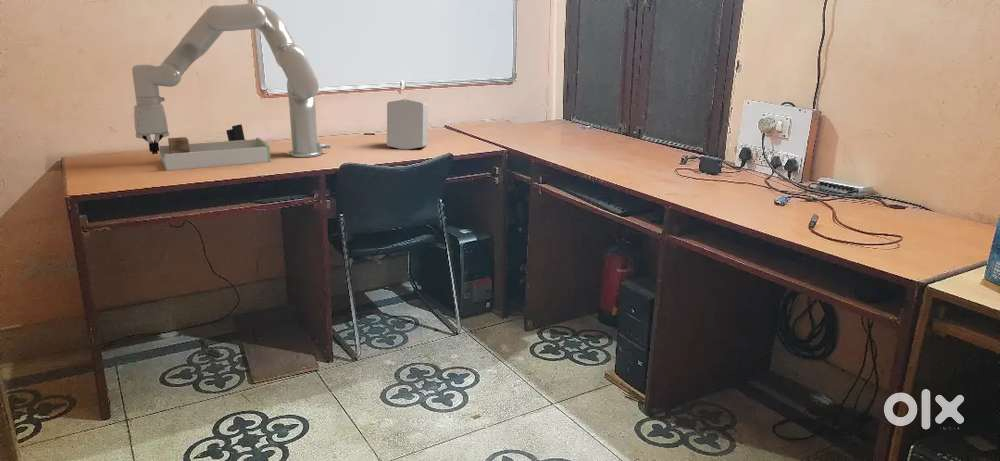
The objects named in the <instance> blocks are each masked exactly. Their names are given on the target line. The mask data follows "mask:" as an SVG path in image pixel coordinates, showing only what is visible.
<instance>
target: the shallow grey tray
mask: <svg viewBox="0 0 1000 461" xmlns="http://www.w3.org/2000/svg"><path fill="white" fill-rule="evenodd" d="M189 151H190V152H189V153H175V154H170V151H169V144H166V145H159V155H160V162H161V163H162V165H163V167H164V169H165V170H166V171H176V170H177V171H179V170H189V169H200V168H201V169H202V168H212V167H213V168H214V167H224V166H236V165H248V164H250V165H251V164H259V163H260V164H261V163H271V153H270V152H271V149H270V145H269V144H268V143H266V142H265V141H264V140H262V139H261V138H260V137H255V138H254V139H253V138H251V139H245V140H237V141H228V140H227V141H226V140H225V141H213V142H212V141H210V142H198V143H197V142H196V143H195V142H194V143H189Z"/></svg>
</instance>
